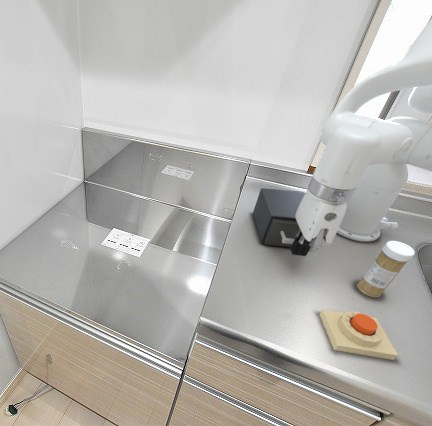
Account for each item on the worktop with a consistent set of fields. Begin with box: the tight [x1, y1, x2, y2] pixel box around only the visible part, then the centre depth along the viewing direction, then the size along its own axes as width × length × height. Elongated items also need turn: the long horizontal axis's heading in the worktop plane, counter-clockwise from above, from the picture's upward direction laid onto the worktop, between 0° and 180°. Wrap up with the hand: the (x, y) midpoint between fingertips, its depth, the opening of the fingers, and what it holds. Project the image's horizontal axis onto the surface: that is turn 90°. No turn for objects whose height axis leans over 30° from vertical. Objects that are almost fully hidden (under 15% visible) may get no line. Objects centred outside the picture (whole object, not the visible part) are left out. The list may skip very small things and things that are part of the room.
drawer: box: [264, 219, 299, 248], centre depth 79 cm, size 17×10×8 cm, turn 168°
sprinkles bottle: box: [356, 240, 416, 298], centre depth 63 cm, size 5×5×13 cm
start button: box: [350, 313, 378, 335], centre depth 56 cm, size 4×4×2 cm
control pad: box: [318, 309, 399, 361], centre depth 57 cm, size 10×8×4 cm
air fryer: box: [252, 187, 306, 245], centre depth 82 cm, size 14×12×10 cm
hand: (297, 253), depth 70 cm, fingers closed
